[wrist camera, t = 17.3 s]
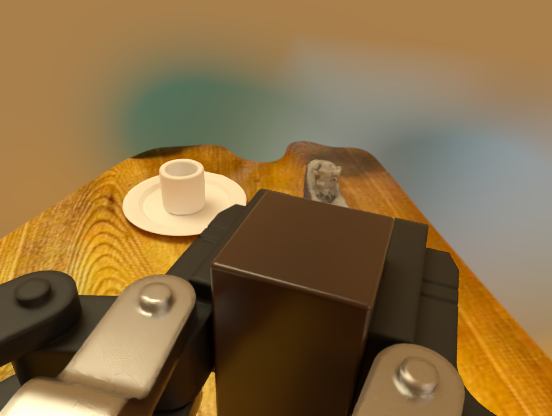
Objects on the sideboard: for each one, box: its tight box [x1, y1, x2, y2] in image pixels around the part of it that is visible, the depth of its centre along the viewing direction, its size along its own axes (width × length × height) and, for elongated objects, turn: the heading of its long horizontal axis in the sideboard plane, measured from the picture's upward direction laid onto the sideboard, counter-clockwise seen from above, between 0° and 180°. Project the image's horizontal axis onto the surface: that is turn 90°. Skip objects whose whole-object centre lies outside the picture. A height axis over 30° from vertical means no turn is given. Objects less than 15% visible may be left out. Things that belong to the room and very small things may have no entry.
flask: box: [303, 160, 350, 208], centre depth 34 cm, size 9×3×11 cm, turn 4°
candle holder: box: [123, 159, 247, 236], centre depth 45 cm, size 12×12×4 cm
